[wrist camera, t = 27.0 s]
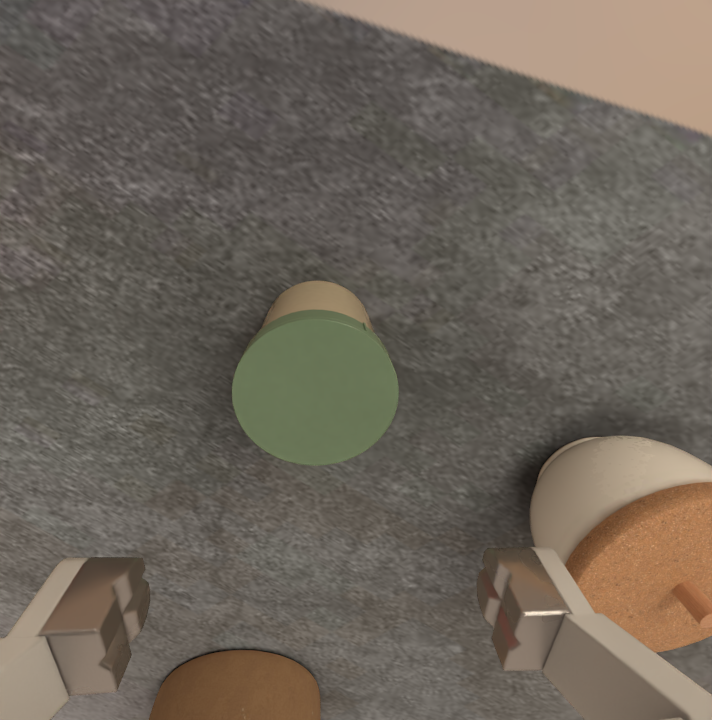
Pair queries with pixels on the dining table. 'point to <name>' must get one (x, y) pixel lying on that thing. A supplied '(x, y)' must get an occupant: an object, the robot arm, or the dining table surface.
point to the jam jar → (318, 301)
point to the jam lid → (315, 388)
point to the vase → (238, 689)
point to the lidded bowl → (632, 533)
